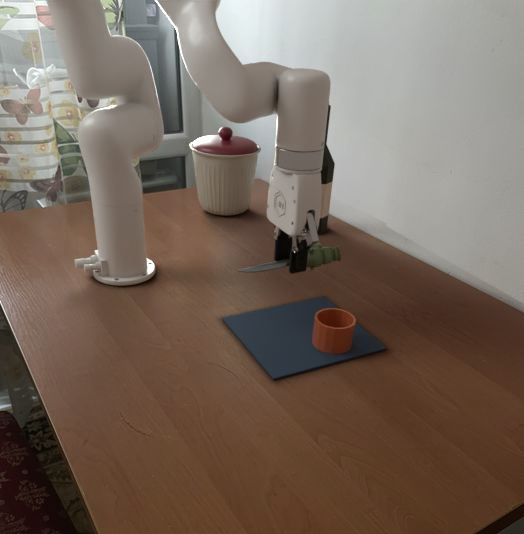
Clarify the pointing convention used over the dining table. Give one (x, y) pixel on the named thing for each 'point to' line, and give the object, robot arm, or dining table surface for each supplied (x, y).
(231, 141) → the canister
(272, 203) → the robot arm
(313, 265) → the knife
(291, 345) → the mat
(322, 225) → the wine bottle
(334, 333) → the ramekin
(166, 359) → the dining table surface
